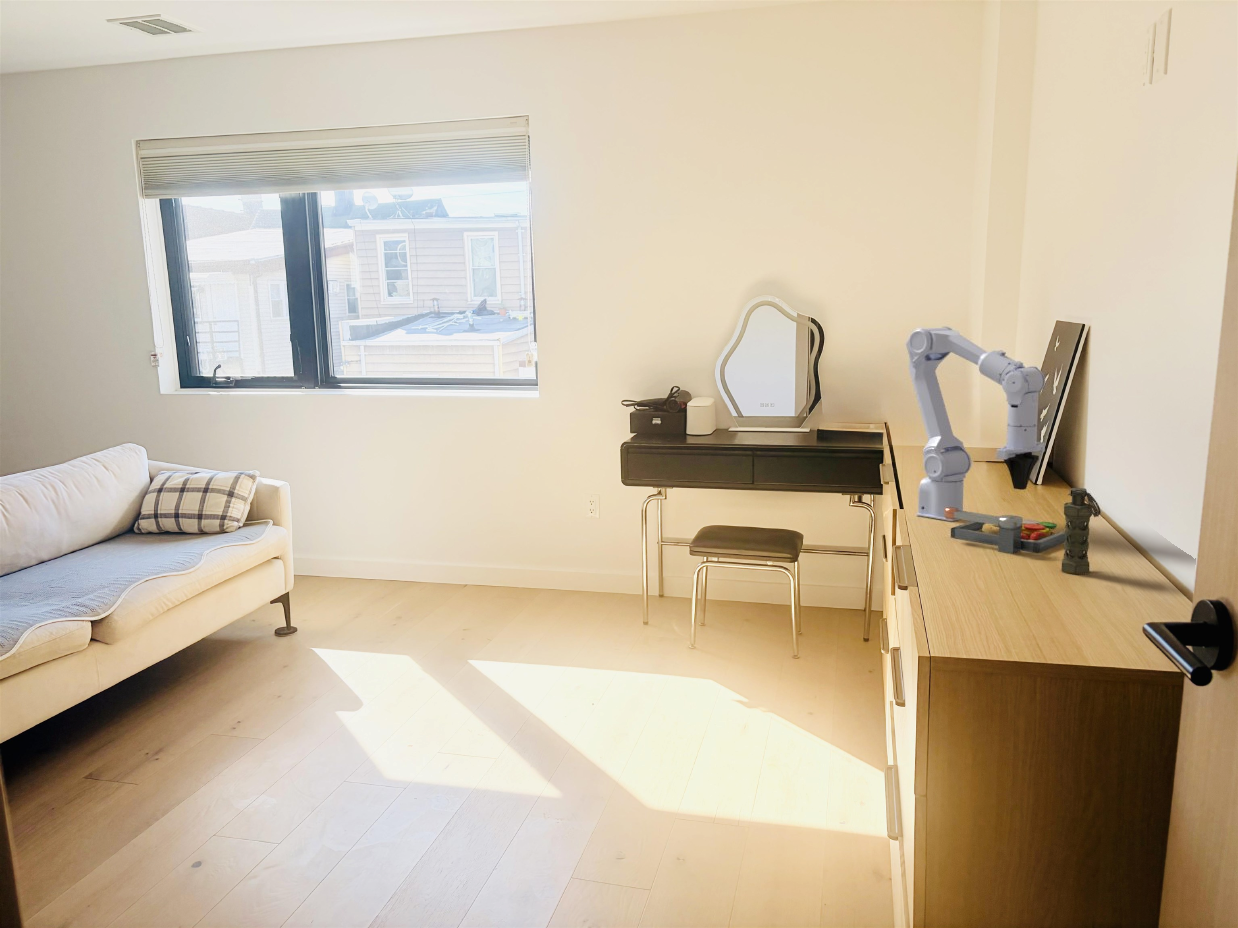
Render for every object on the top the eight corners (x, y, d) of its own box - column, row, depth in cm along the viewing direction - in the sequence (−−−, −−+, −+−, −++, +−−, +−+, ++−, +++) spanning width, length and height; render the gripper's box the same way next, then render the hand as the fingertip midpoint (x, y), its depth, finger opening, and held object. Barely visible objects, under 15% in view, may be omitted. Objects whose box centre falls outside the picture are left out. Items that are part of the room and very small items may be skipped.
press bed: (940, 540, 179) (941, 518, 179) (987, 525, 191) (988, 504, 190) (1028, 556, 165) (1028, 533, 164) (1073, 539, 176) (1074, 516, 175)
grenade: (1098, 578, 150) (1103, 494, 148) (1061, 575, 153) (1065, 492, 151) (1097, 564, 158) (1101, 485, 156) (1061, 562, 161) (1064, 483, 158)
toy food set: (975, 540, 180) (975, 525, 179) (1000, 528, 189) (1000, 513, 188) (1042, 550, 170) (1043, 534, 170) (1065, 537, 179) (1066, 521, 179)
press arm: (939, 518, 178) (939, 509, 178) (951, 515, 181) (951, 505, 181) (1015, 531, 166) (1015, 521, 165) (1026, 527, 168) (1027, 517, 168)
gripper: (1020, 430, 173) (1017, 496, 175) (1059, 423, 181) (1057, 486, 183) (988, 427, 179) (986, 491, 181) (1028, 421, 187) (1025, 482, 189)
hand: (1019, 488), depth 182 cm, fingers closed
